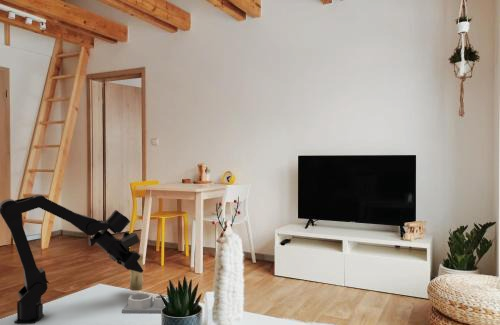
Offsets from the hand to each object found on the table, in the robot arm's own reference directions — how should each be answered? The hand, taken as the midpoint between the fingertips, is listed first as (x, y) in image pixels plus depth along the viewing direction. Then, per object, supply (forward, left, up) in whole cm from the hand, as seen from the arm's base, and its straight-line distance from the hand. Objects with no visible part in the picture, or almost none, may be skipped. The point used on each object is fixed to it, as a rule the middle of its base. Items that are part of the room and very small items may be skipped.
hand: (140, 270), depth 156 cm
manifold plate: (+6, -11, -10) cm, 16 cm away
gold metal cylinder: (-1, -1, -7) cm, 7 cm away
